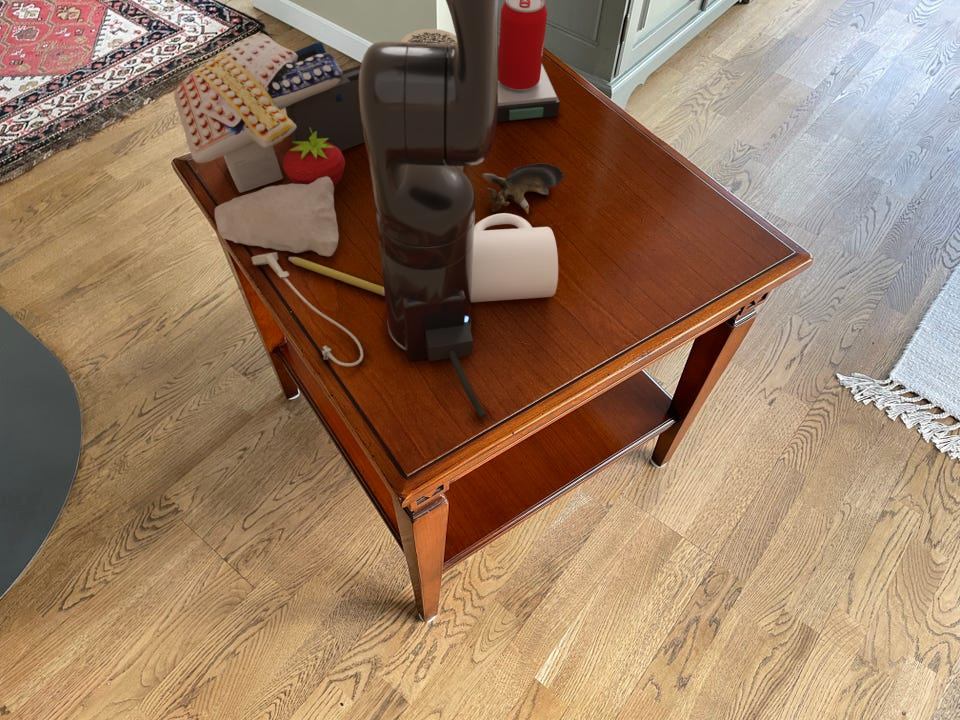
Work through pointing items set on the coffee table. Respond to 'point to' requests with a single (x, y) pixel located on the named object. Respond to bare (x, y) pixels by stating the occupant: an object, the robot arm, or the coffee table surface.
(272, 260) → the white cable
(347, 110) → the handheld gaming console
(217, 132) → the pill blister packs
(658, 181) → the coffee table surface
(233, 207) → the decorative stone
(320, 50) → the blue flat block
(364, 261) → the coffee table surface
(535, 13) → the beverage can
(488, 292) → the mug
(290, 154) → the red tomato pincushion
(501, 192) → the eagle figurine
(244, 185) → the product carton
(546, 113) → the scale
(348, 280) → the pencil
